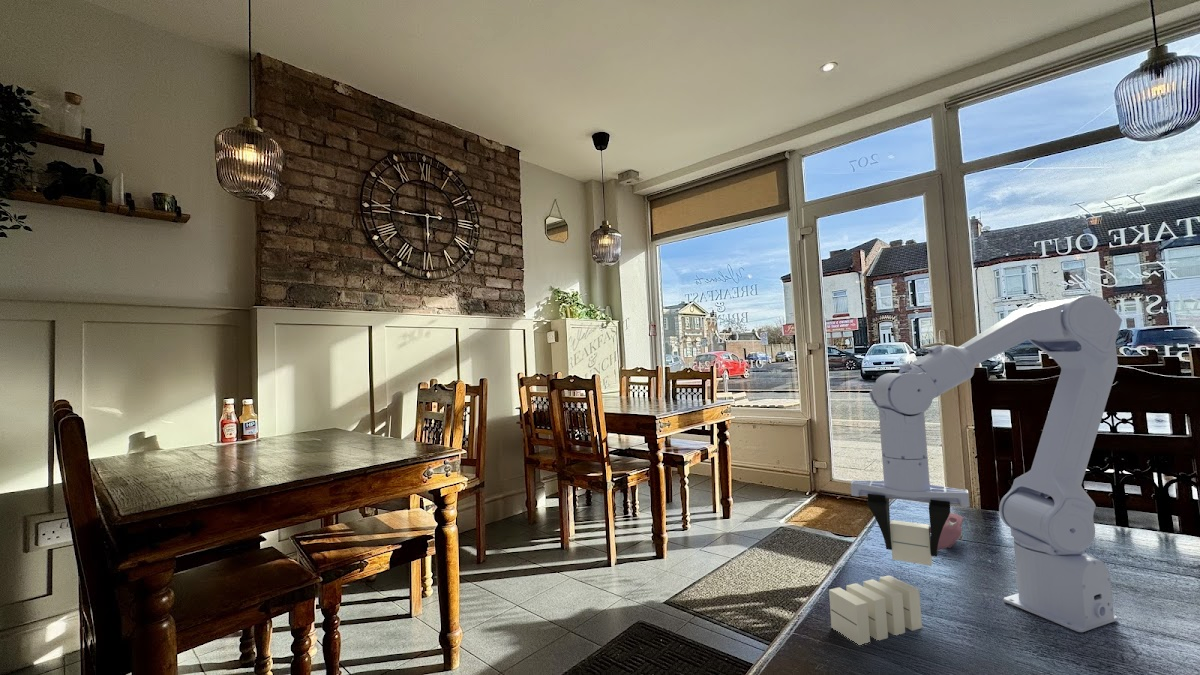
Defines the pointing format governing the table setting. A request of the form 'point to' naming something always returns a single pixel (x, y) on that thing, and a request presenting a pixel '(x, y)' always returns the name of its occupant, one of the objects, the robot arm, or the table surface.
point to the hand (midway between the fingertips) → (911, 550)
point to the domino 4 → (911, 542)
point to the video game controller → (951, 531)
